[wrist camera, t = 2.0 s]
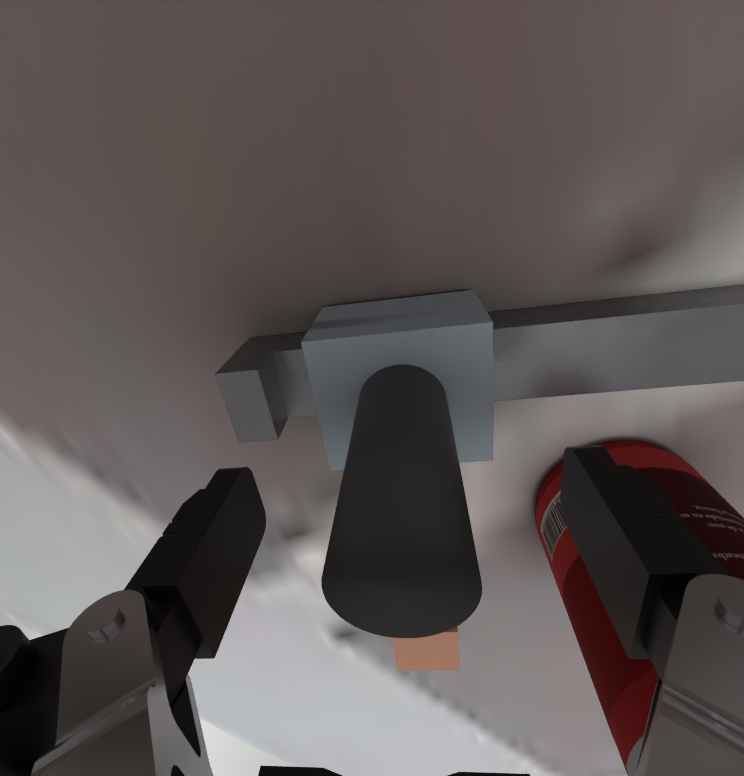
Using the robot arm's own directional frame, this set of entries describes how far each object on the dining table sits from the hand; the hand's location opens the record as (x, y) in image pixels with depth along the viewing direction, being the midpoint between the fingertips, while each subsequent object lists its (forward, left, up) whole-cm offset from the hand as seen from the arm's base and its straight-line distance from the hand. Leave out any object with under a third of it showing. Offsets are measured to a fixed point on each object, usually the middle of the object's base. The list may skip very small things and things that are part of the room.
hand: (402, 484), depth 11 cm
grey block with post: (+4, 0, -8) cm, 9 cm away
